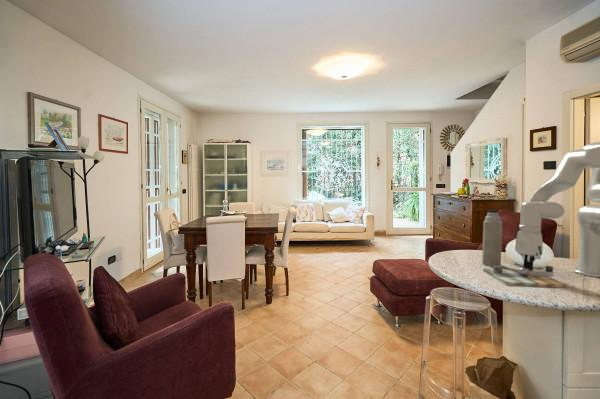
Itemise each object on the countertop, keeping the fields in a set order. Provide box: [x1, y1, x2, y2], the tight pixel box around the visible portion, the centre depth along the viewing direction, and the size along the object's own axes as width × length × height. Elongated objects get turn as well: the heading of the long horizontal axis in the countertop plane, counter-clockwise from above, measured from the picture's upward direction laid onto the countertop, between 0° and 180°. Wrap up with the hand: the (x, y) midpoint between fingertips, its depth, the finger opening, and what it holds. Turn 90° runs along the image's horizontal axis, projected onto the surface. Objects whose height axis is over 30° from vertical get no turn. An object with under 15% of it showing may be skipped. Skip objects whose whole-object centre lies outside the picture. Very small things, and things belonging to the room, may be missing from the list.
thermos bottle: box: [481, 209, 503, 268], centre depth 151 cm, size 8×8×28 cm
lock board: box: [482, 265, 567, 288], centre depth 130 cm, size 22×20×4 cm
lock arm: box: [518, 265, 555, 278], centre depth 129 cm, size 13×4×4 cm, turn 81°
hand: (528, 269), depth 135 cm, fingers closed
